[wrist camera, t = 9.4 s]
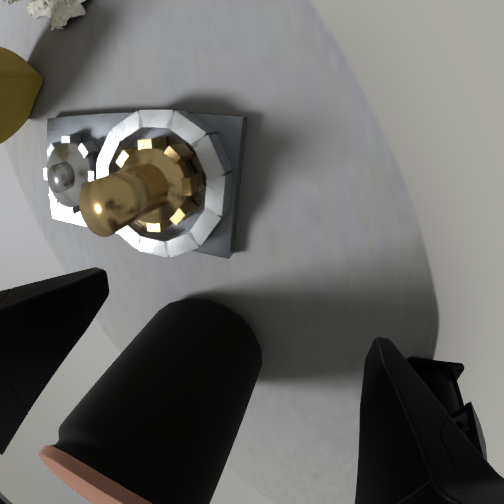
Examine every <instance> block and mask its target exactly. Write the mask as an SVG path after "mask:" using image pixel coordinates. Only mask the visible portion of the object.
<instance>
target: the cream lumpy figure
mask: <svg viewBox="0 0 504 504" xmlns="http://www.w3.org/2000/svg"><path fill="white" fill-rule="evenodd" d="M3 1H4V2H5V0H3ZM10 1H11V2H10ZM14 1H16V2H17V1H19V0H9V1H7V2H8V3H9V4H11V3H13V2H14ZM20 1H21V0H20ZM84 1H85V0H31V1H30V3H29V2H28V3H29V4H28V5H29V6H28V5H27V6H26V9H27V10H28V12H29V11H30V12H29V13H30V14H29V13H28V14H29V16H30V17H32V18H34V19H36V18H37V17H39V16H41V17H42V16H43V15H46V16H47V17H49V18H50V20H51V21H52V23H51V26H52V28H51V31H53V30H54V29H55V28H56V29H64V28H62V26H65V25H66V24H67V21H68V19H69V18H70V17H76V16H79V15H85V14H86V12H85V9H83V8H84V7H83V6H82V4H81V3H82V2H84Z"/></svg>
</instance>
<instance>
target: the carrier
mask: <svg viewBox="0 0 504 504" xmlns="http://www.w3.org/2000/svg"><path fill="white" fill-rule="evenodd" d="M246 123H247V117H239V116H228V115H214V114H197V113H188V112H186V111H183V110H139V111H136V112H134V113H106V114H89V115H77V116H66V117H57V118H49V119H48V121H47V150H48V148H49V147H50V145H51V143H55V142H60V141H61V136H64V135H69V134H81V141H83V142H88V141H94V143H95V144H96V146H97V147H98V149H99V151H98V153H97V154H96V157H97V161H98V162H97V179H98V178H100V177H103V176H106V175H109V174H112V173H115V172H119V171H120V170H121V167H120V166H119V165H118V164H117V162H116V161H117V159H118V158H119V156H120V155H121V153H122V151H123V150H126V149H131V148H135V147H138V140H143V139H149V138H156V137H166V141H167V146H170V145H175V144H180V143H184V144H185V145H186V146H187V147H188V148H189V149H190V150H191V151H192V152H193V153H194V154H193V155H192V157H191V158H190V159H189V162H190V163H191V165H192V168H193V170H194V173H203V186H204V188H203V189H202V190H200V191H198V192H196V193H194V195H193V198H192V201H193V202H194V203H195V204H196V205H197V206H198V207H197V208H196V209H195V210H194V212H193V213H192V214H191V215H190V216H189V217H188V218H187V219H185V220H184V221H182V222H181V223H179V224H178V225H175V224H174V223H173V224H172V225H170V226H169V227H167V228H166V229H165V230H163V231H162V232H151V231H148V230H147V223H146V222H143V221H141V220H139V219H138V220H137V221H135V222H133V223H131V224H129V225H128V226H126V227H124V228H122V229H121V230H119V231H117V232H116V234H120V235H121V236H122V237H123V238H124V239H125V240H126V241H128V242H129V243H130V244H131V245H132V246H133V247H134V248H136V249H138V248H139V251H142V252H146V253H151V254H155V255H159V256H163V257H167V258H168V257H170V258H171V257H173V256H176V255H179V254H182V253H185V252H188V251H196V252H200V253H205V254H209V255H214V256H219V257H223V258H228V259H229V258H230V257H231V256H232V254H233V250H234V239H235V229H236V218H237V208H238V198H239V188H240V179H241V169H242V159H243V150H244V141H245V132H246ZM48 159H49V155H48ZM49 191H50V193H51V190H50V187H49ZM50 202H51V212H52V219H56V220H61V221H65V222H69V223H73V224H78V225H82V226H86V227H87V225H86V224H85V222H84V220H83V218H82V216H81V213H80V212H78V213H76V214H73V215H72V214H67V213H65V207H64V206H63V205H61V204H60V203H57V204H54V203H53V201H52V200H51V198H50Z"/></svg>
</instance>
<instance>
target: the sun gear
mask: <svg viewBox="0 0 504 504" xmlns="http://www.w3.org/2000/svg"><path fill="white" fill-rule="evenodd" d="M98 151H99V149H98V147H97V146H96V144H95V143H94V141H88V142H83V141H81V134H69V135H64V136H61V141H60V142H55V143H51V145H50V147H49V148H48V150H47V154H48V155H49V159H48V164H47V167H44V168H43V171H44V180H48V184H49V187H50V190H51V193H50V194H49V196H50V198H51V200H52V201H53V203H54V204H57V203H60V204H61V205H63V206H64V207H65V213H67V214H72V215H73V214H76V213H78V212H80V208H79V197H80V192H81V190H82V188H83V186H84V185H85V184H86V183H88V182H89V181H92V180H95V179H97V162H98V161H97V157H96V154H97V153H98Z"/></svg>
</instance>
